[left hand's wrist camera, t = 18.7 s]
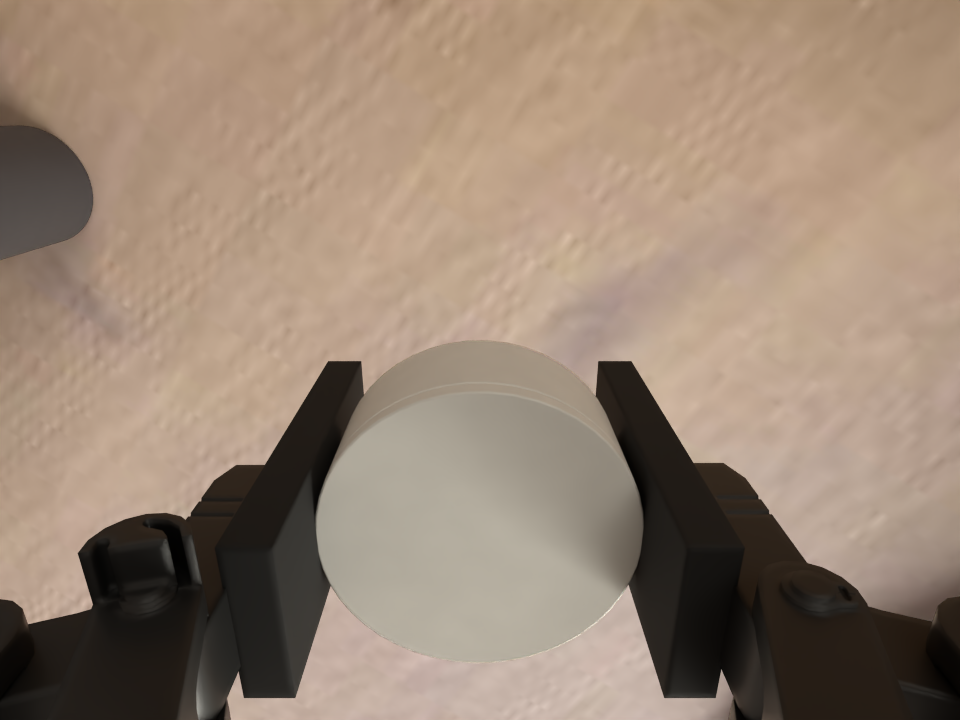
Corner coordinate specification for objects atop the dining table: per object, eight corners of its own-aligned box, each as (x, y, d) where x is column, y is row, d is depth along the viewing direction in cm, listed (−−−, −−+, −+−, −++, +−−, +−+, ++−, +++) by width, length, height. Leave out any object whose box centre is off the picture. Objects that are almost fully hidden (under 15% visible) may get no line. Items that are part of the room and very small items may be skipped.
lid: (644, 536, 13) (676, 619, 11) (403, 602, 14) (389, 693, 12) (572, 300, 11) (595, 344, 9) (296, 391, 12) (256, 453, 10)
